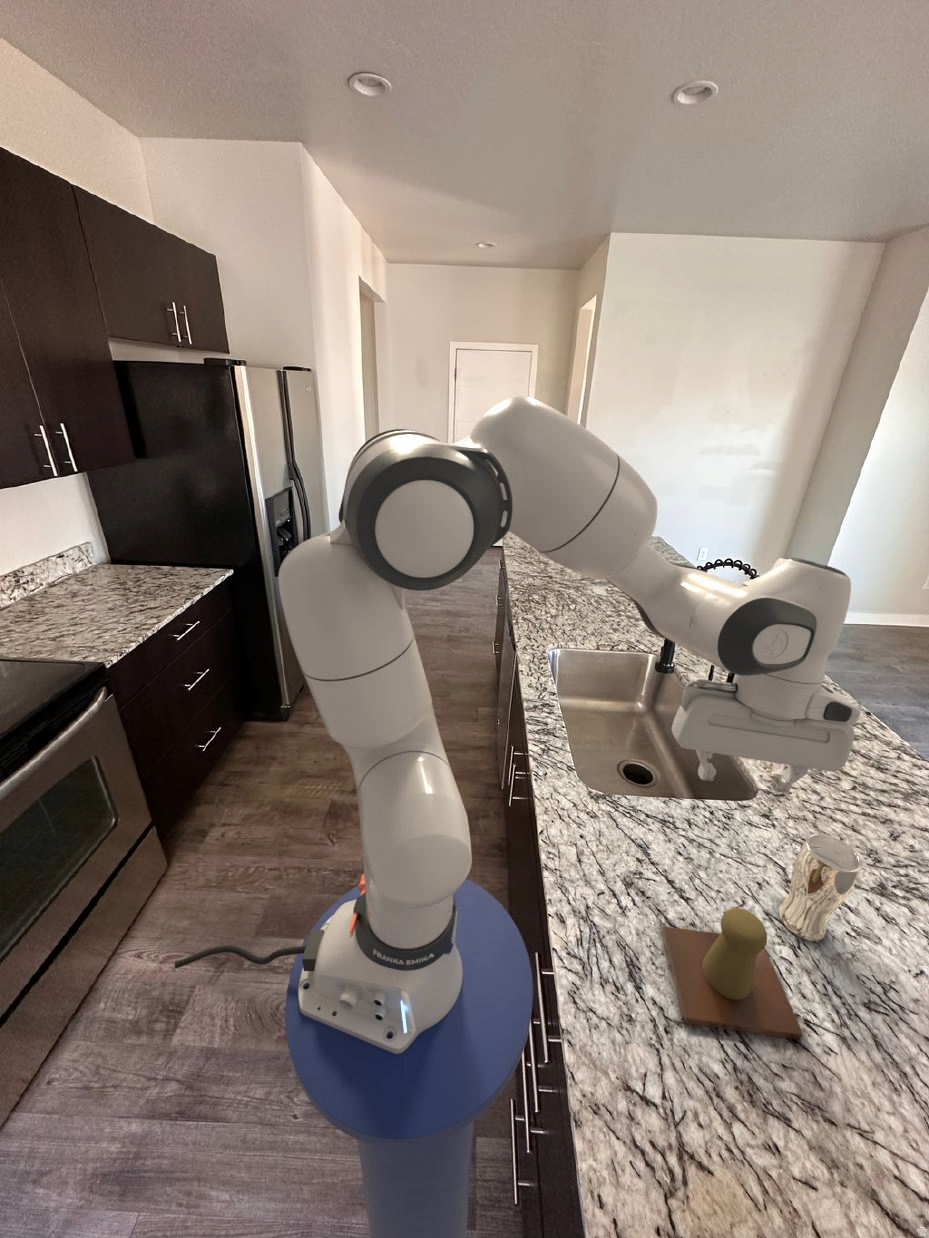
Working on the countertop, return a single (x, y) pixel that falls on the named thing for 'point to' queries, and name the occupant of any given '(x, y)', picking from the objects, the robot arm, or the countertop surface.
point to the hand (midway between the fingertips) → (741, 783)
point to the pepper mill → (735, 953)
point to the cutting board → (710, 1008)
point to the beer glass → (818, 885)
